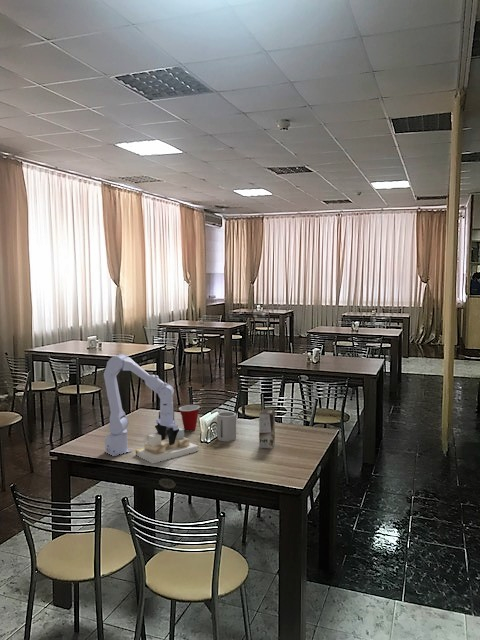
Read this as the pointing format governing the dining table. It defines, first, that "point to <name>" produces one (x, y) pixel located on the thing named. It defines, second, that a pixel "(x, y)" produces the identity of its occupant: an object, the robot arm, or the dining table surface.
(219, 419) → the cup
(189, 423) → the plastic cup
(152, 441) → the crate
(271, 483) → the dining table surface
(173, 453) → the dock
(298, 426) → the dining table surface
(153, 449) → the pallet
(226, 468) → the dining table surface
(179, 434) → the block
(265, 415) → the coffee box
